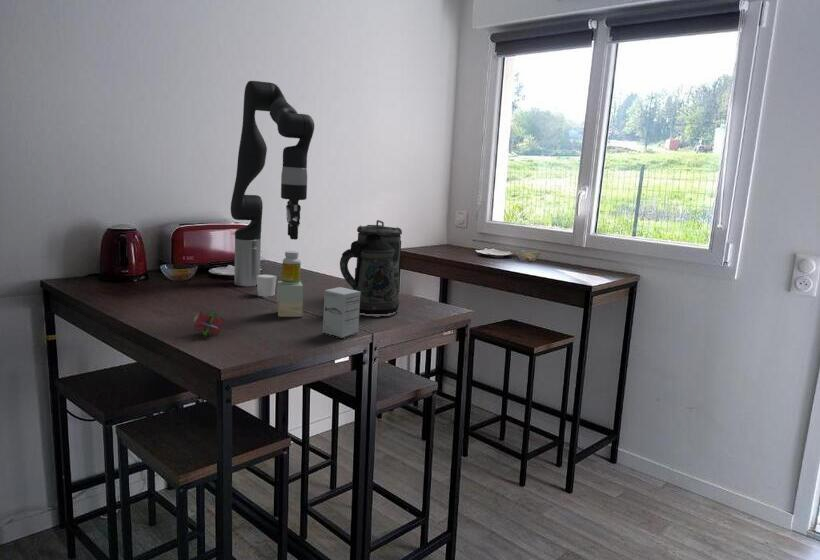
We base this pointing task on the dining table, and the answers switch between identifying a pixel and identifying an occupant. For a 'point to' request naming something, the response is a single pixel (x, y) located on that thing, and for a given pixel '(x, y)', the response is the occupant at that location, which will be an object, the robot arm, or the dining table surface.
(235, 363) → the dining table surface
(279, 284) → the tower top block
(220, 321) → the geometric puzzle
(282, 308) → the tower base block
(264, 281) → the shot glass
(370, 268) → the beer stein
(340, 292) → the supplement box
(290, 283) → the supplement bottle
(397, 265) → the canister
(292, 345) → the dining table surface
